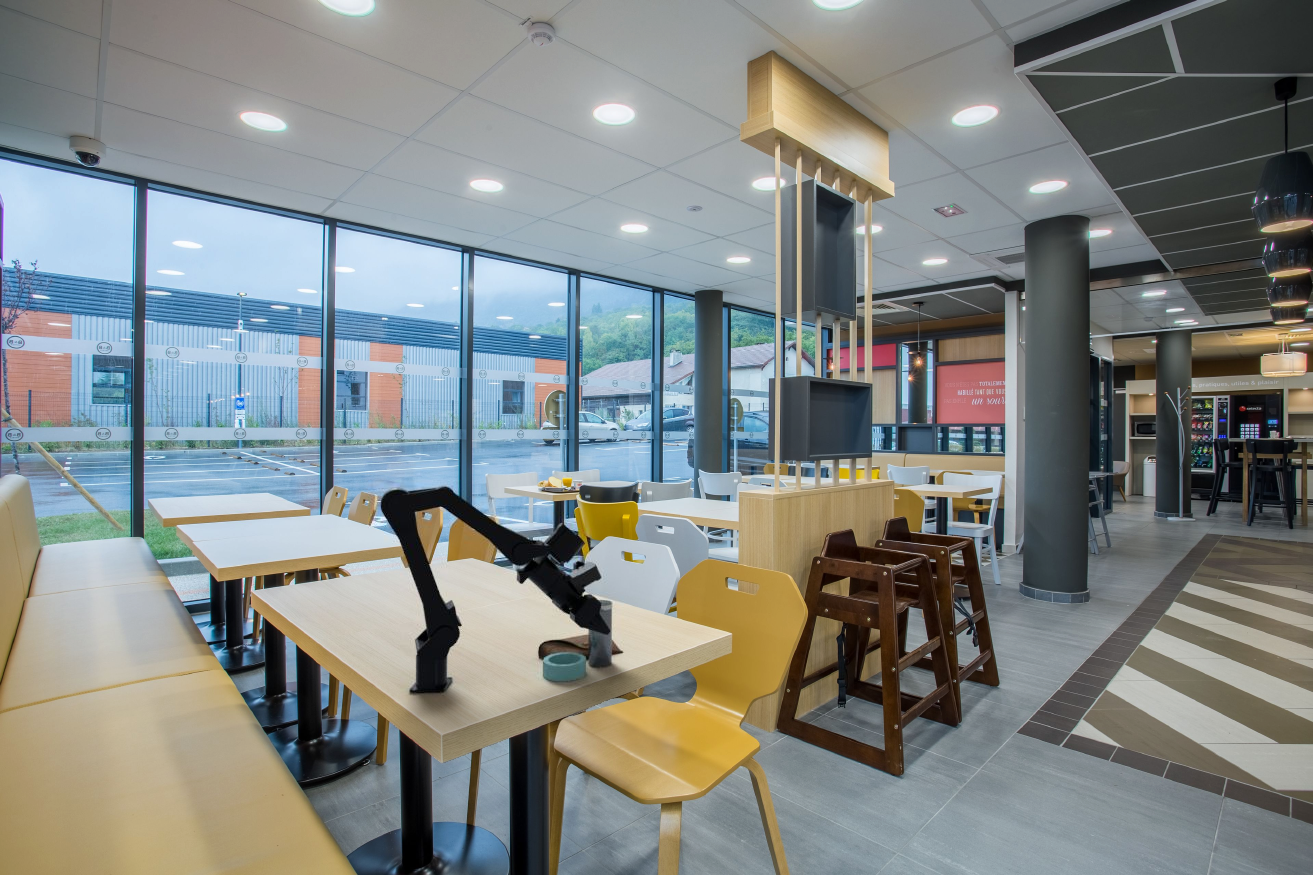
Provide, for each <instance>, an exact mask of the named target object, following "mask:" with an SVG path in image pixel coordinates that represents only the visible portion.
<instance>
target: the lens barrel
mask: <svg viewBox="0 0 1313 875" xmlns="http://www.w3.org/2000/svg"><path fill="white" fill-rule="evenodd" d="M598 600H599V601H600V602H601V603H602V604H601V609H600V615H601V616H602V618H603V620H604V621H605V623H606V624H607V626H608V627H609V629H610V631H611V632H610V633H609V634H608V635H605V634H602V633H599V632H596V631H593V630H589V629H587V630H588V633H587V634H588V659H587V661H588V662H587V663H588V666H589V667H592V668H598V669H599V668H600V667H601V668H607V667H609V666H612V664H613V662H612V660H613V658H612V655H613V654H612V640H613V638H612V635H613V626H612V625H613V602H612V601H611V600H607V599H598Z"/></svg>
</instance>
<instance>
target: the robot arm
mask: <svg viewBox="0 0 1313 875" xmlns="http://www.w3.org/2000/svg"><path fill="white" fill-rule="evenodd" d="M379 506H380V510H381V512H382V514H383V516H384V518H385V519H386V522H387V523H388V525H389V527H390V528H391V529H392V531H393V532H394V534H395V535H396V537H397V538H398V540H399V543H400V546H401V549H402V551H403V554H404V556H405V559H406V562H407V566H408V568H409V571H410V573H411V576H412V579H413V581H414V584H415V586H416V587H415V588H416V590H417V593H418V596H419V598H420V601H421V604H422V609H423V610H422V611H423V615H424V617H423V618H424V621H425V629H424V630H423V631H422V632H421V633H420V634H419V635H418V636H417V637H416V638H415V640H414V642H415V650H416V655H415V682H414V683H413V685H411V687H409V689H408V690H409V691H408V692H409V693H439V692H440V693H443V692H445V691H446V690H447V688H448V686H449V685H450V684H451V683H452V682H453V677H452V676H451V677H450V676H449V677H448V654H449V652H450V650H451V648H452V647H454V646H455V645H456V643H458V640H459V638H460V636H461V631H460V627H462V626H463V624H462V621H461V620H460V618H459V616H458V615H457V610H456V605H455V604H454V601H453V600H452V599H451V600H449V601H447V602H445V600H444V598H443V597H442V595H441V593H440V589H439V587H438V584H437V582H436V579H435V576H434V574H433V570H432V568H431V565H430V562H429V559H428V557H427V553H426V551H425V548H424V545H423V543H422V541H421V537H420V534H419V530H418V522H417V516H416V513H417V512H422V511H427V510H432V509H438V508H442V509H444V510H446V511H447V512H449V513H450V514H451V515H453V516H454V517H456V519H458V520H460V521H461V522H463V523H464V524H465V525H467V526H468V527H469V528H471V529H473V530H474V531H475V532H477V533H479V534H480V535H481V536H483V537H484V538H485V539H487V540H488V541H489V542H490V543H491V544H492V545H493V546H494V547H495V548H496V549H497V550H498V551H499V553H500V554H502V555H503V557H504V558H506V559H507V560H508V561H509V562H510V563H511V564H512V565H515V566H518V567H521V566H523V567H522V568H516V570H515V571H516V581H517V582H518V583H519V584H521V585H523V584H524V583H525V582H526V581H527V579H528V580H530V582H532V584H534V585H535V586H536V587H537V588H538V589H539V590H540V591H541V592H542V593H544V595H546V597H547V598H549V599H550V600H551V603H552V604H553V605H554V606H555V607H556V608H558V609H559V610H560V611H562V612H563V613H564V614H567V615H568V616H569V618H570V620H571V621H572V622H574V623H575V624H576V625H577V626H578V627H579V628H581V629H586V630H588V629H589V630H593V631H596V632H599V633H602V634H605V635H608V634H609V633H610V632H611V631H610V629H609V627H608V626H607V624H606V623H605V621H604V620H603V618H602V616H601V615H600V609H601V604H602V603H601V602H600V601H599V600H600V599H598V598H597V597H595V596H594V595H592V594H590V593H587V594H584V593H585V592H586V589H585V587H588V586H589V585H592V584H593V583H594V582H596V581H597V582H598V581H600V580H601V579H602V575H601V573H600V571H599V569H598V566H597V564H596V563H594V562H593V561H586V562H585V563H584V562H583V561H582V560H580V559H578V560H576V561H575V562H573V565H572V566H573V568H572V570H571V572H570V573H567V572H566V571H564V570H562V569H561V568H560V567H559V566H558V565H557V564H555V563H554V561H552V559H553V560H555V561H556V562H557V563H558V564H559V565H561V564H562V563H563V564H568V563H570V561H571V560H572V559H573V558H574V557H575V556H576V554H578V552H579V551H580V550H581V549H582V548H583V547H584V546H585V545H586V542H585V541H584V540H583V539H582V537H581V536H580V535H579V534H577V533H576V532H574V531H573V530H571V529H570V528H569V527H567V525H566V524H564V523H562V522H561V523H560V522H559V524H558V525H557V526H556V527H555V530H553V532H552V533H550V535H549V536H548V537H547V538H546V539H545V540H544V541H543V540H540V539H529V538H527V536H524V535H523V534H521V533H519V532H516V531H515V530H512V529H510V528H508V527H506V526H503V525H501V524H500V523H497V522H496V521H495V520H493V519H492V518H491V517H489V516H487V514H485V513H484V512H482V511H481V510H479V509H478V508H476V507H475V506H474V505H473V504H471V503H469V502H468V501H466V500H465V499H464V498H463V497H461V496H460V495H458V494H457V493H456V492H454V490H453V489H452V488H451V487H449V486H447V485H439V486H437V487H431V488H430V487H429V488H422V489H414V490H407V489H406V488H405V489H404V488H402V487H392V488H390V489H388V490H386V492H384V493H383V495H382V497H381V499H380V505H379ZM549 556H550V557H551V558H552V559H550V557H549Z"/></svg>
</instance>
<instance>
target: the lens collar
mask: <svg viewBox="0 0 1313 875" xmlns="http://www.w3.org/2000/svg"><path fill="white" fill-rule="evenodd" d="M586 672H587V660H586V657H585V656H583V655H582V654H578V653H573V652H561V653H556V654H551V655H549V656H547V657H544V660H542V677H543V678H544V679H546V680H548V681H552V682H556V681H557V682H571V680H572V681H575V680H576V679H577V680H580V679H582V678H583V677H585V676H586ZM584 675H585V676H584ZM579 678H580V679H579Z"/></svg>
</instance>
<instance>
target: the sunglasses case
mask: <svg viewBox="0 0 1313 875" xmlns="http://www.w3.org/2000/svg"><path fill="white" fill-rule="evenodd" d="M561 652H573V653H578V654H582V655H583V656H585V657H586V661H588V633H587V634H581V635H576V636H570V637H566V638H559V639H548V640H545V641H544V642H541V643H540V644H539V646H538V649H537V655H538V656H537V657H538V658H539V659H540V660H542V661H543V660H544V657H547V656H549V655H551V654H556V653H561ZM617 653H618V654H621V653H624V651H623V650H621V649H620V647H619V646H618V645H617V644H616V643H615V641H614V640H613V639H612V655H615V654H617Z"/></svg>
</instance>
